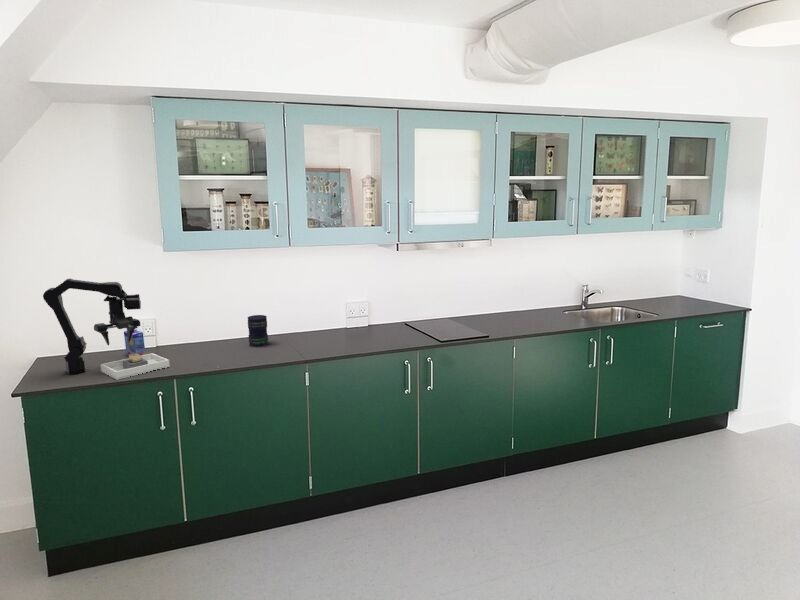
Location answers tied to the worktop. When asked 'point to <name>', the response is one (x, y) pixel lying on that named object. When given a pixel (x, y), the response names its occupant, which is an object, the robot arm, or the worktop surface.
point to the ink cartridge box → (135, 343)
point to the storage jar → (257, 331)
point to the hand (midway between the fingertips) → (118, 343)
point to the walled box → (134, 366)
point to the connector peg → (134, 358)
